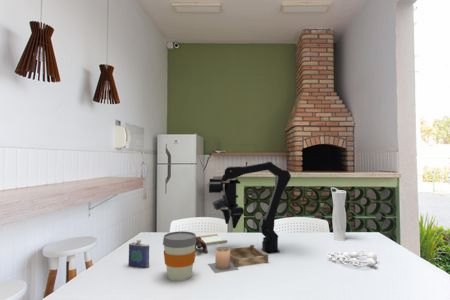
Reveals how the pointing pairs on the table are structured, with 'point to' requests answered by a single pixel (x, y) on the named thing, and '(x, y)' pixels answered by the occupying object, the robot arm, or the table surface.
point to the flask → (138, 255)
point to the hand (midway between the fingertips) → (230, 226)
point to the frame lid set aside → (212, 239)
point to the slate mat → (222, 270)
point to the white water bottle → (339, 214)
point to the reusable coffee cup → (179, 254)
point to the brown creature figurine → (200, 244)
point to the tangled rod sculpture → (353, 258)
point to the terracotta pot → (222, 258)
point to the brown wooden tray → (247, 256)
